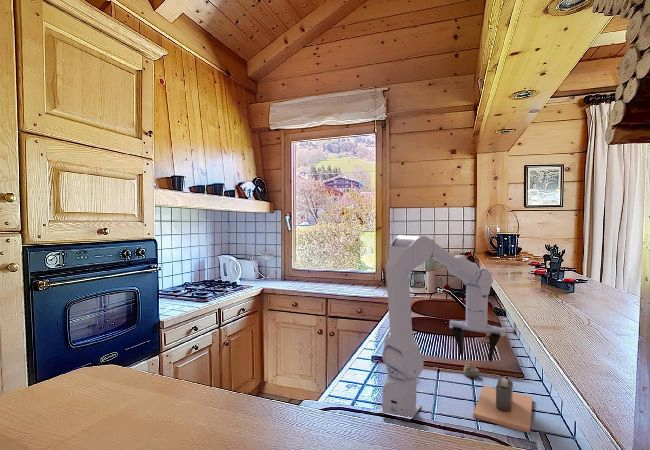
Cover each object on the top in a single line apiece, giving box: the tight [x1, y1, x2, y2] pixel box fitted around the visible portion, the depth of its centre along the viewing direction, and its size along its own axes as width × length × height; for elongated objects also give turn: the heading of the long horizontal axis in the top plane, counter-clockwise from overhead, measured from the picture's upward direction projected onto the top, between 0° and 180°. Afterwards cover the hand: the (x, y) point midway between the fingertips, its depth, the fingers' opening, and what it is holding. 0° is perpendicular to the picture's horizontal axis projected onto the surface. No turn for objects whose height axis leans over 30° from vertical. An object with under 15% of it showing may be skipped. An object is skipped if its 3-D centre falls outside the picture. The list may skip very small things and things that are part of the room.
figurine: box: [463, 356, 480, 378], centre depth 111 cm, size 5×4×6 cm
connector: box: [495, 377, 514, 412], centre depth 90 cm, size 8×3×6 cm, turn 148°
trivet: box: [472, 385, 533, 434], centre depth 90 cm, size 18×12×1 cm, turn 148°
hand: (475, 356), depth 101 cm, fingers open, 7 cm apart
